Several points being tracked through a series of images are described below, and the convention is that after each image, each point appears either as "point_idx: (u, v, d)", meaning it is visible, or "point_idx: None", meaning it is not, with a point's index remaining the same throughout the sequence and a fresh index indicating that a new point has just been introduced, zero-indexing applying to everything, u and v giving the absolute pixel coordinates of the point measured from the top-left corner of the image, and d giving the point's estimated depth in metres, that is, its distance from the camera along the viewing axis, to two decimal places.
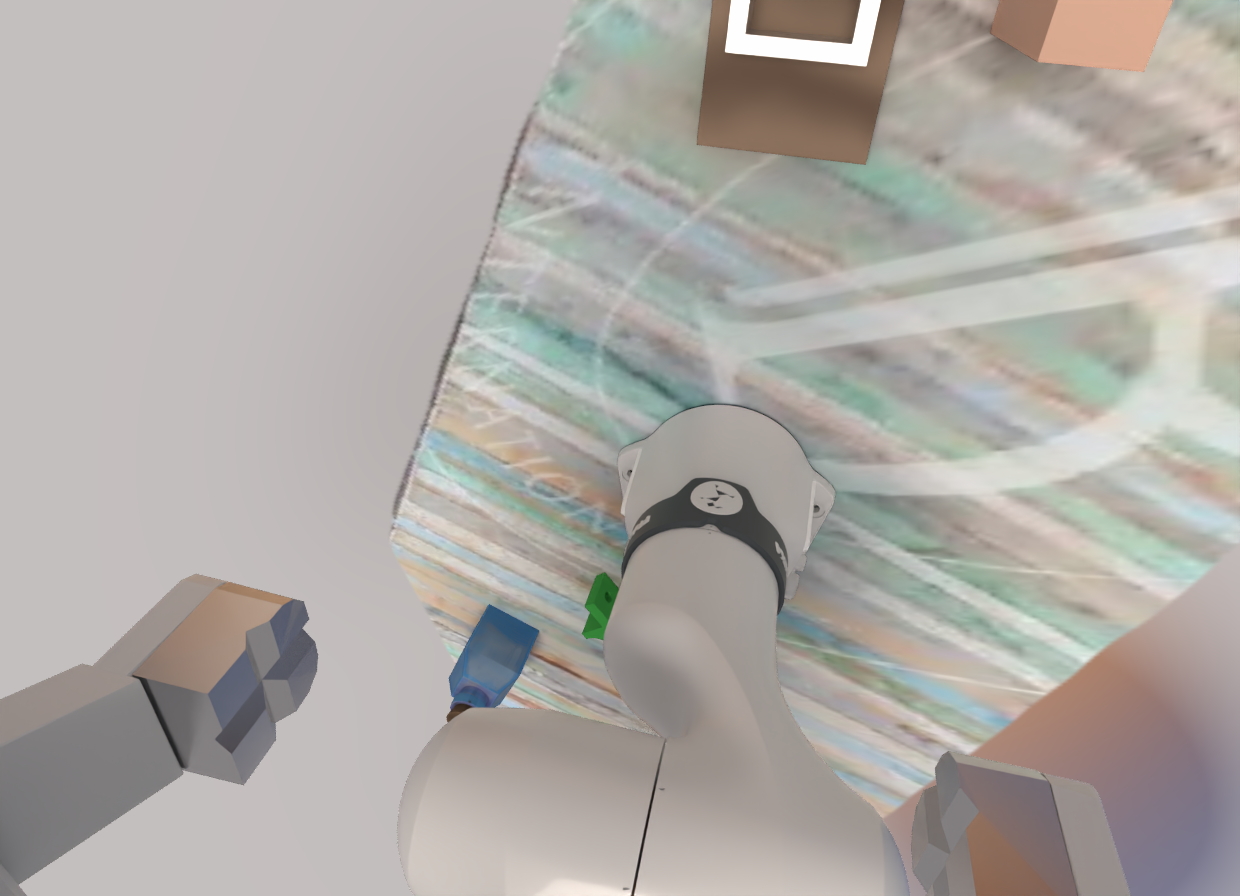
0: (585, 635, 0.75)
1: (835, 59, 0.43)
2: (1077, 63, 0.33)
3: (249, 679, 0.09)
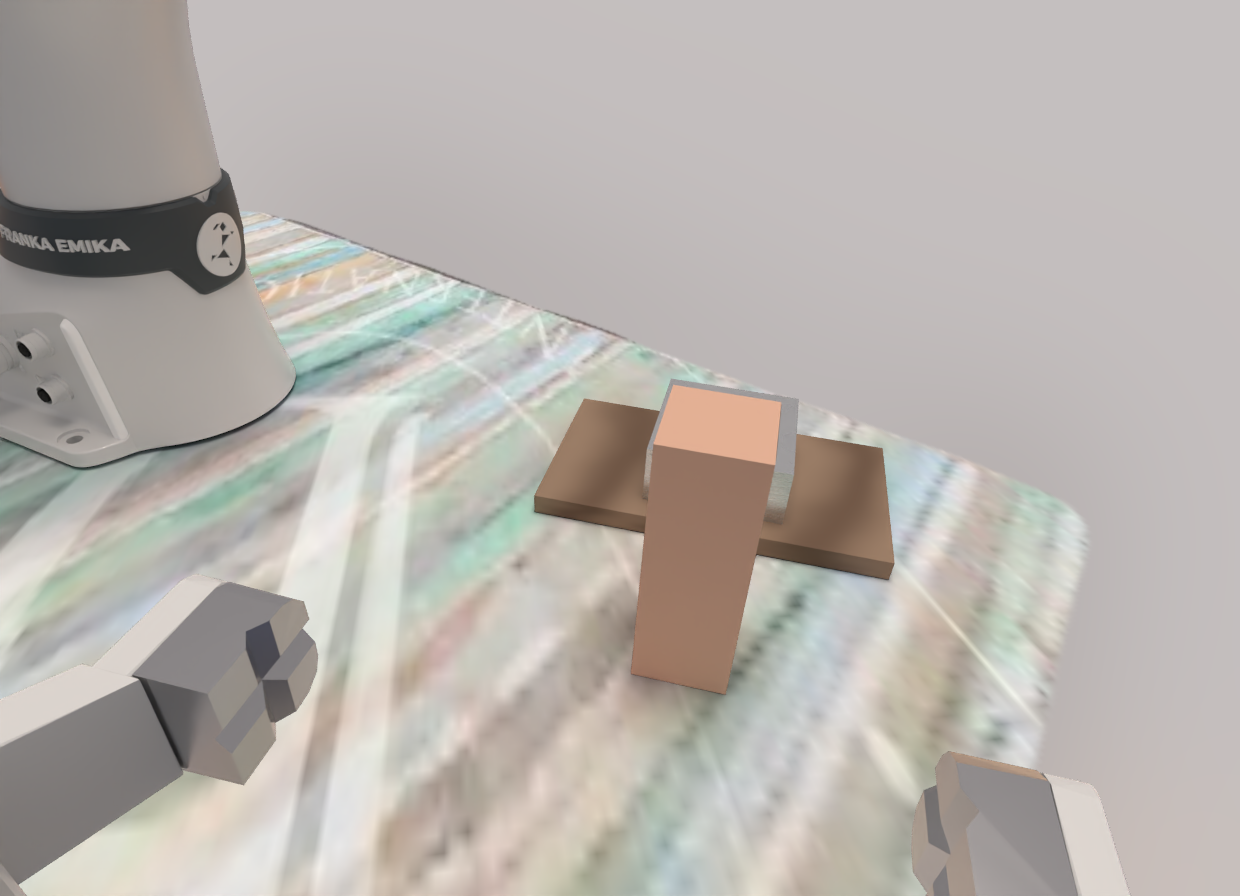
0: None
1: (655, 432, 0.43)
2: (668, 405, 0.30)
3: (249, 679, 0.09)
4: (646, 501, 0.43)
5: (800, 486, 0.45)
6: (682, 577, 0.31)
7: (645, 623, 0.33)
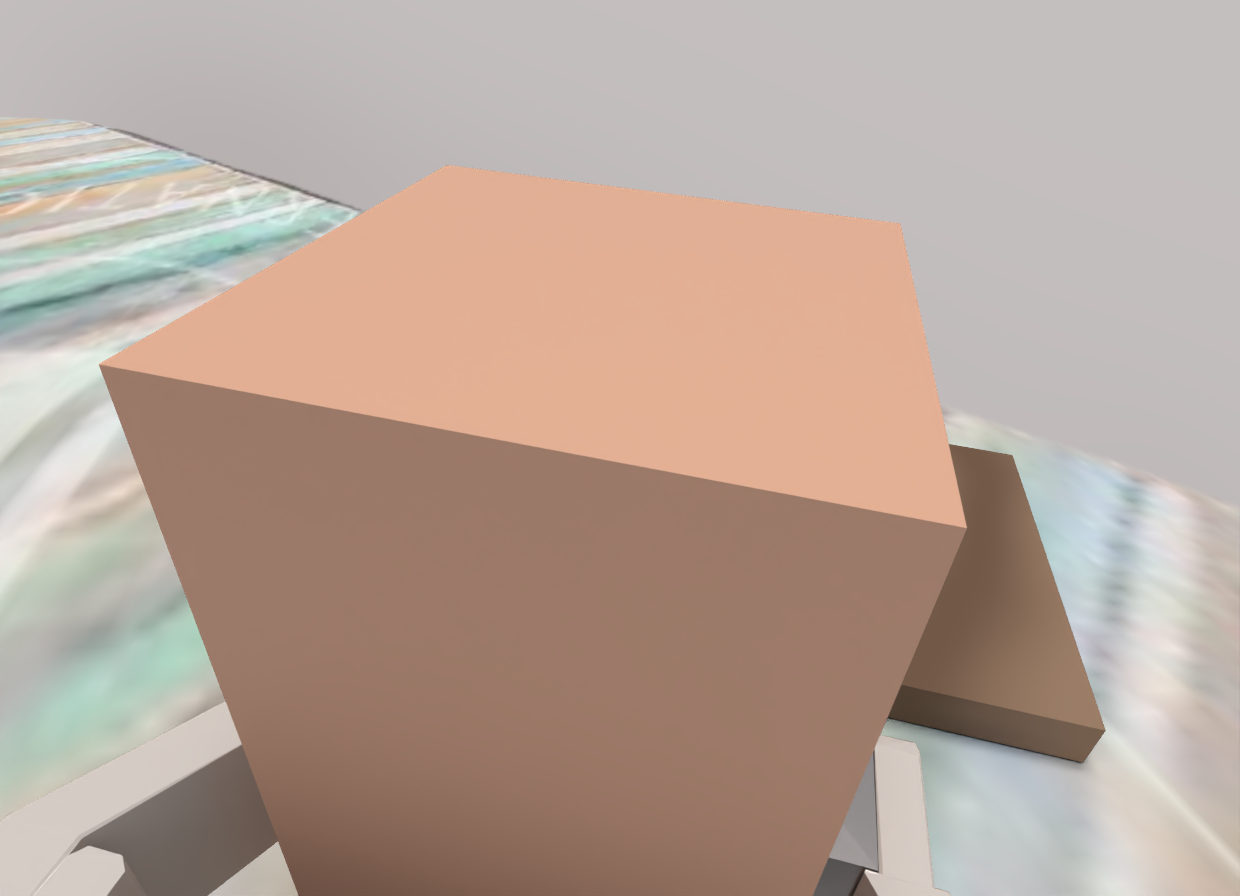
0: None
1: None
2: (372, 214, 0.06)
3: None
4: None
5: None
6: None
7: None
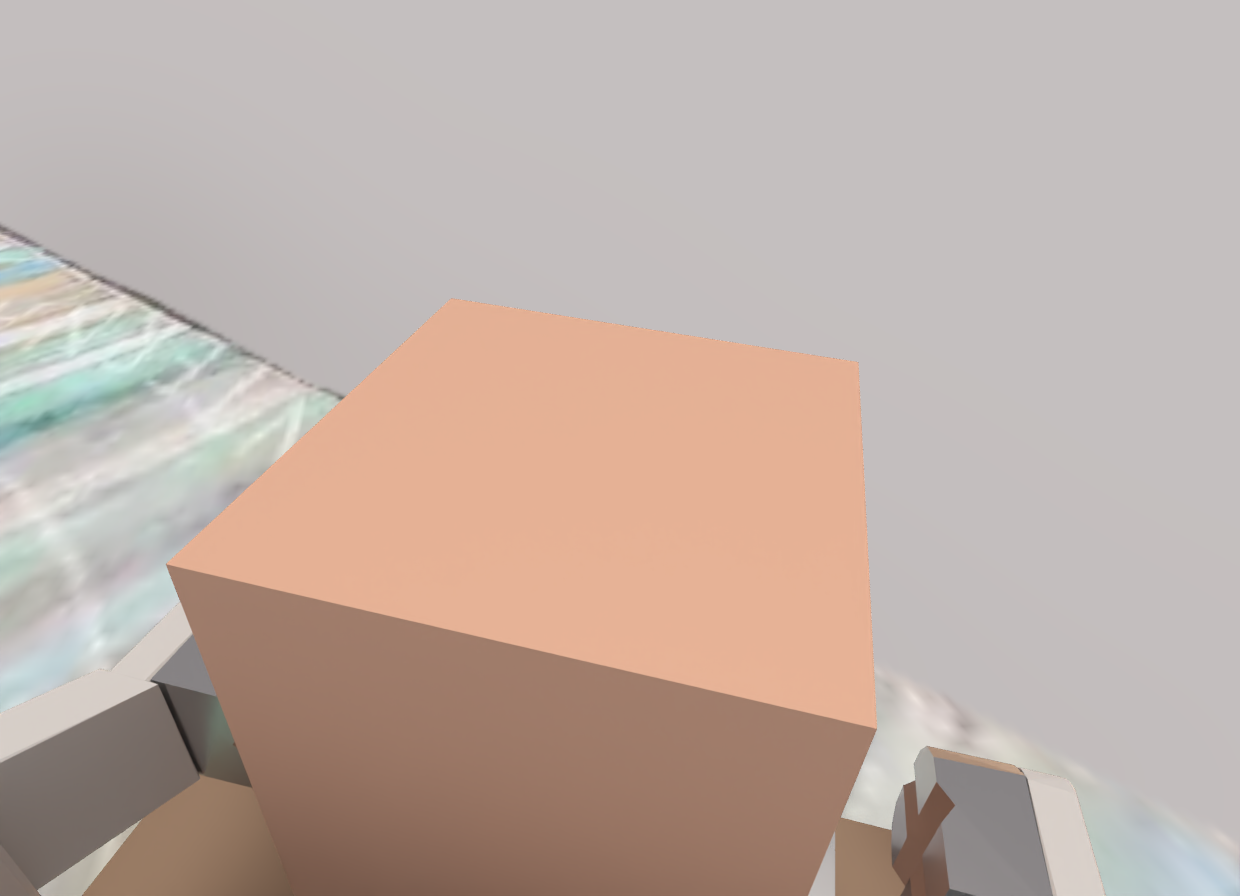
0: None
1: None
2: (386, 368, 0.07)
3: None
4: None
5: None
6: None
7: None
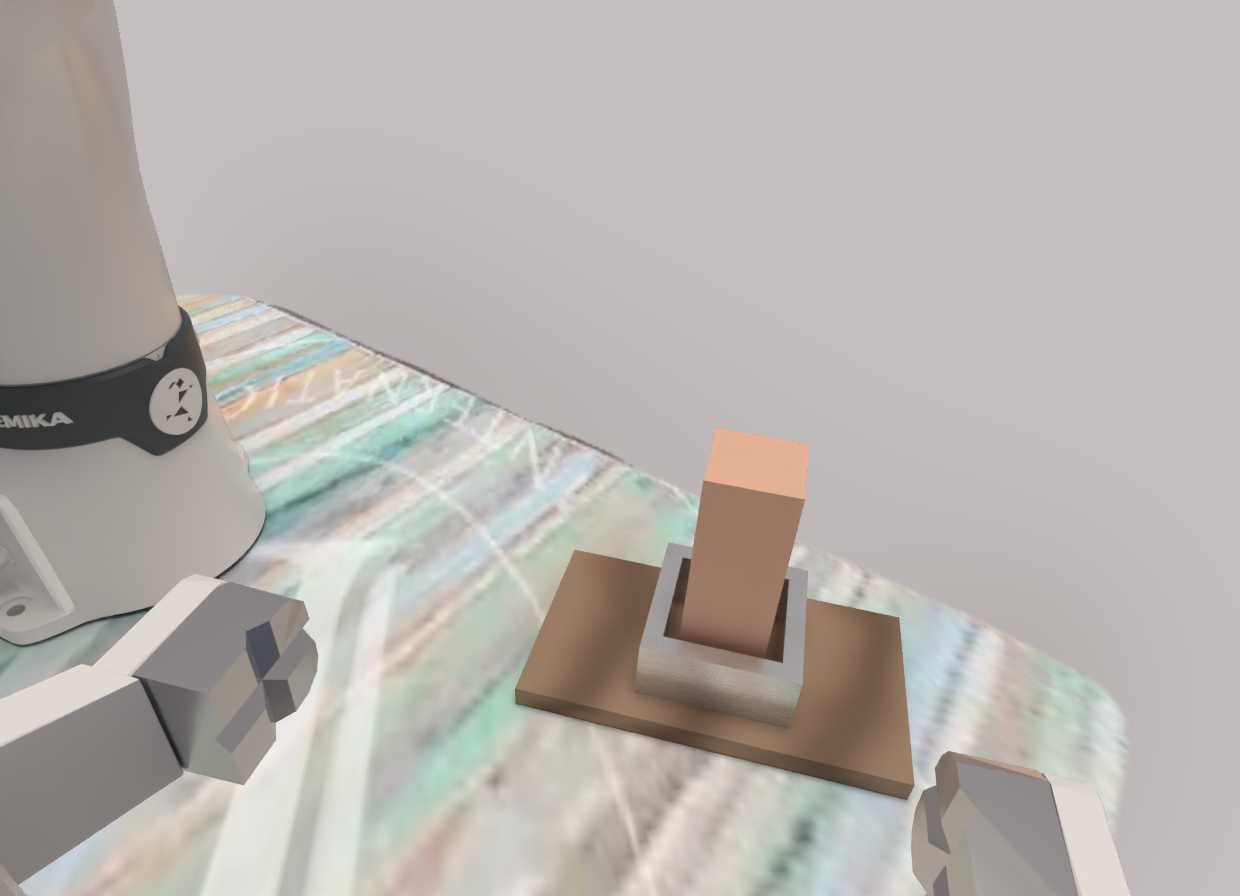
0: None
1: (650, 622, 0.39)
2: (713, 446, 0.35)
3: (249, 679, 0.09)
4: (638, 696, 0.39)
5: (808, 672, 0.41)
6: (722, 591, 0.36)
7: (688, 630, 0.38)
